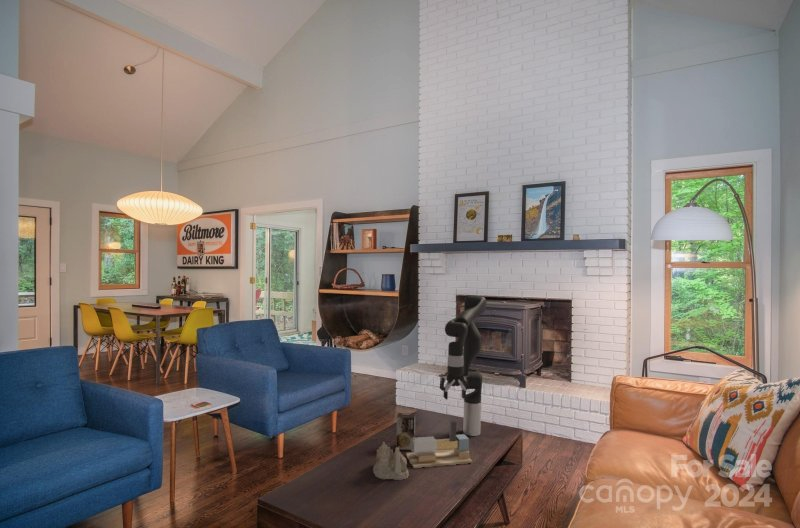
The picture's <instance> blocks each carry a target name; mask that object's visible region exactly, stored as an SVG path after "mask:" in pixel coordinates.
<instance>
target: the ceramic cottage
mask: <svg viewBox="0 0 800 528" xmlns="http://www.w3.org/2000/svg"><path fill="white" fill-rule="evenodd" d="M393 450H394V449H393V448H392V449H391V446H388V444H386V442H385V441H382V445H381V446H379V447H378V449H376V458H375V464H374V465H373V468H372V472H373V474H375V475H374V476H375V477H376V478H378V479H381V480H385V479H394V480H393V481H403V479H405V480H407V479H408V478H409V477H408V476H410V474H409V473H410V472H409V469H408V466H407V465H408V462H407V460H408V459H407V457H405V456H404V455H403V454H402V452H401V451H400V449H399V448H396V447H395V451H393ZM406 478H407V479H406Z"/></svg>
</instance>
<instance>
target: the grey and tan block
mask: <svg viewBox="0 0 800 528" xmlns="http://www.w3.org/2000/svg"><path fill="white" fill-rule="evenodd" d="M436 439H437V438H435V437H434V436H421V437H420V436H419V437H415V438H411V450H410V451H411V452H413V454H414V456H415V458H416V459H417V461H418V463H428V462H436V455H435V453H437V441H436Z"/></svg>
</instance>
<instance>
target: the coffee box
mask: <svg viewBox="0 0 800 528" xmlns="http://www.w3.org/2000/svg"><path fill="white" fill-rule="evenodd" d="M411 438H416V413H412V412H409V413H408V412H397V414H396V438H395V439H396V445H395V446H396V447H395V448H399V450H407V451H411Z"/></svg>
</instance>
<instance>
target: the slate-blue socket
mask: <svg viewBox="0 0 800 528" xmlns="http://www.w3.org/2000/svg"><path fill="white" fill-rule="evenodd" d="M456 438H457V439H458V440H459V448H453V449H454V453H455V454H456V455H457V456H458V457H459V459H465V458H470V457H471V456H470V454H471V453H470V451H469V450H470V439H469V437H468V435H466V434H464V433H462V434H456ZM470 459H471V458H470Z"/></svg>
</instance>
